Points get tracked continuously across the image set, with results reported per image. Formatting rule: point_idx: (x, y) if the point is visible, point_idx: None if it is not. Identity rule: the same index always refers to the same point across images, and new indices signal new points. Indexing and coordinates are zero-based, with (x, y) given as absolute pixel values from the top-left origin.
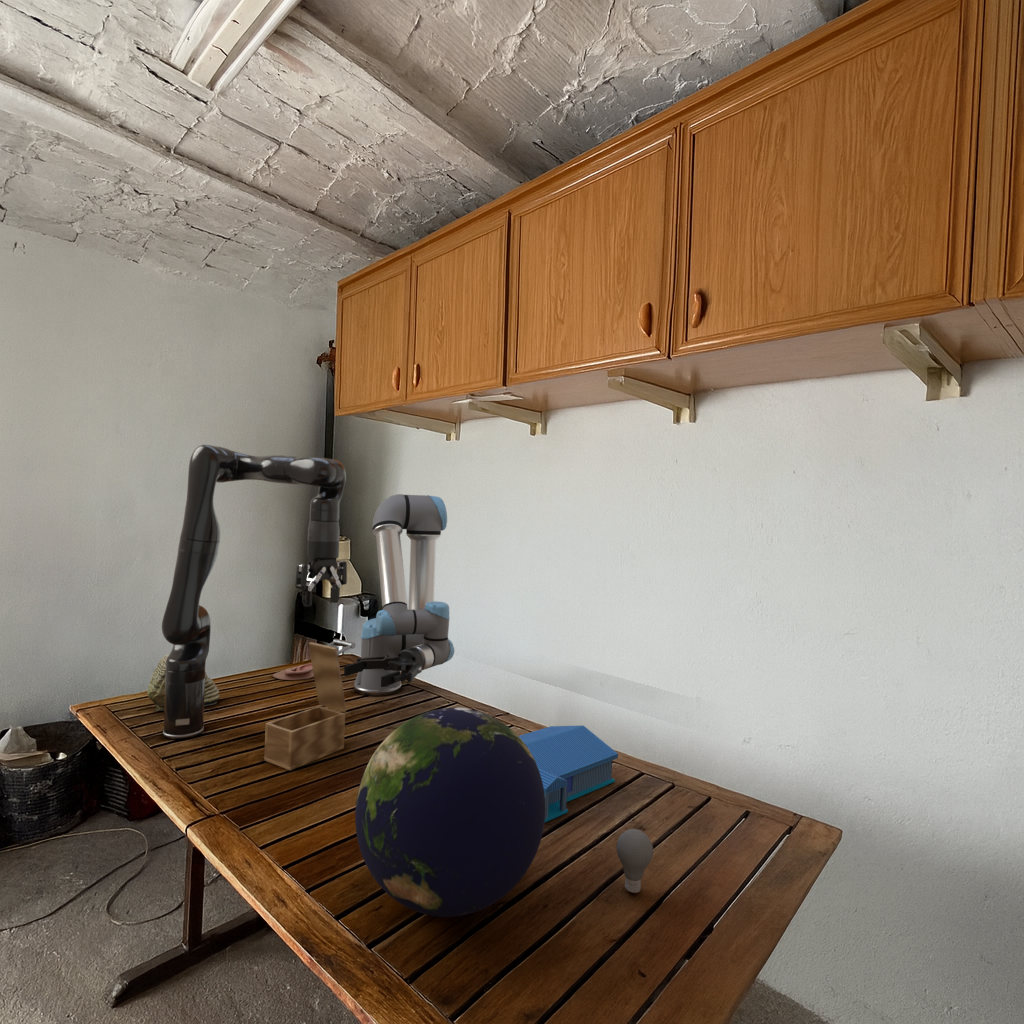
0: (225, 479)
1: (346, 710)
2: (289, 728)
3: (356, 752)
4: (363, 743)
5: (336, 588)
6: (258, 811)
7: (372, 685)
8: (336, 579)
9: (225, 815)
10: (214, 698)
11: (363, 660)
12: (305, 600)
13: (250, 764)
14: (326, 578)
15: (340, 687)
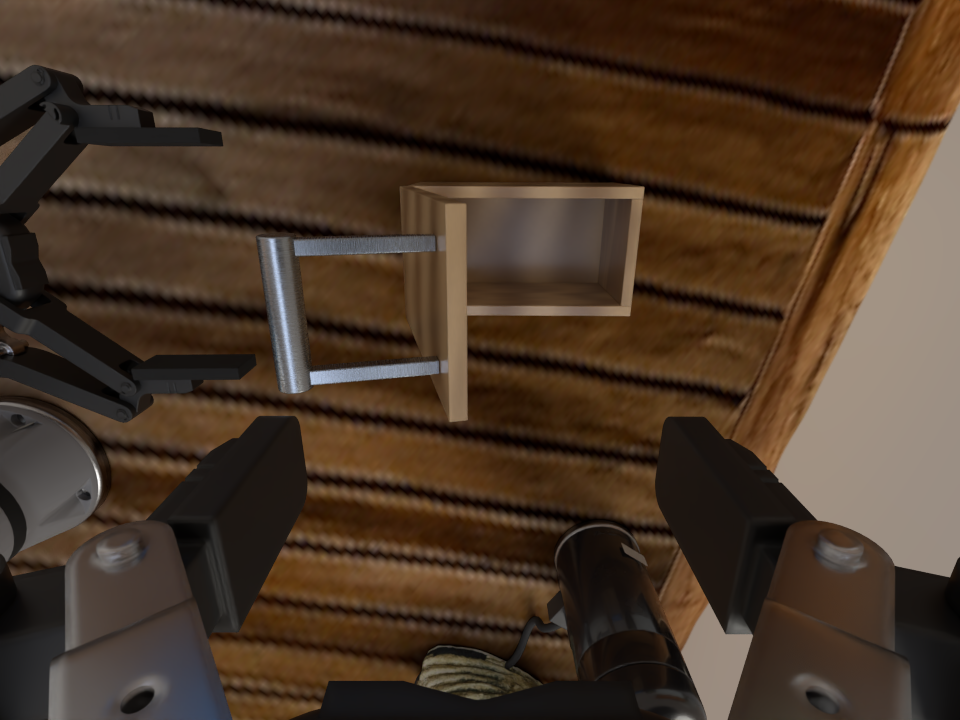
0: None
1: (400, 186)
2: (542, 296)
3: (416, 127)
4: (356, 163)
5: (214, 525)
6: (829, 45)
7: (62, 448)
8: (163, 627)
9: (876, 98)
10: (438, 658)
11: (120, 382)
12: (764, 475)
13: (637, 296)
14: (431, 716)
15: (424, 190)
